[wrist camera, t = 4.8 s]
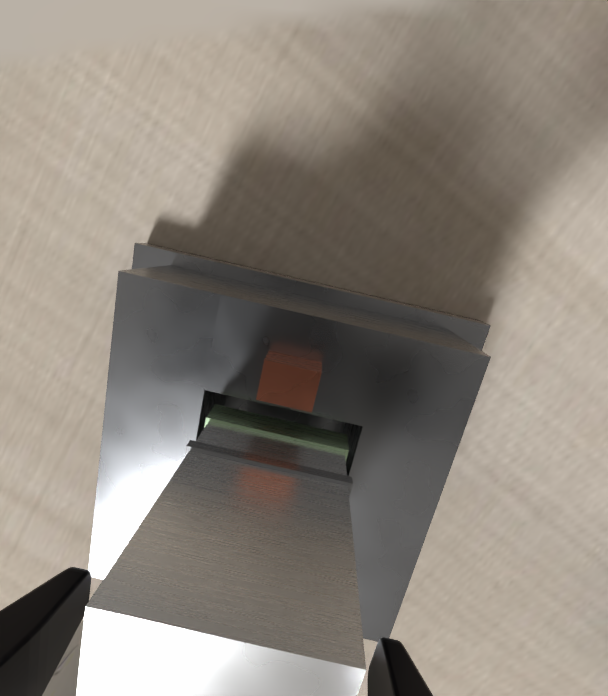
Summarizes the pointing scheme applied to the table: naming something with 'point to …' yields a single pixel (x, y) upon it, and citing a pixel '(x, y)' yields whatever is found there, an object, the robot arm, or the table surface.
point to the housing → (286, 398)
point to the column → (236, 573)
